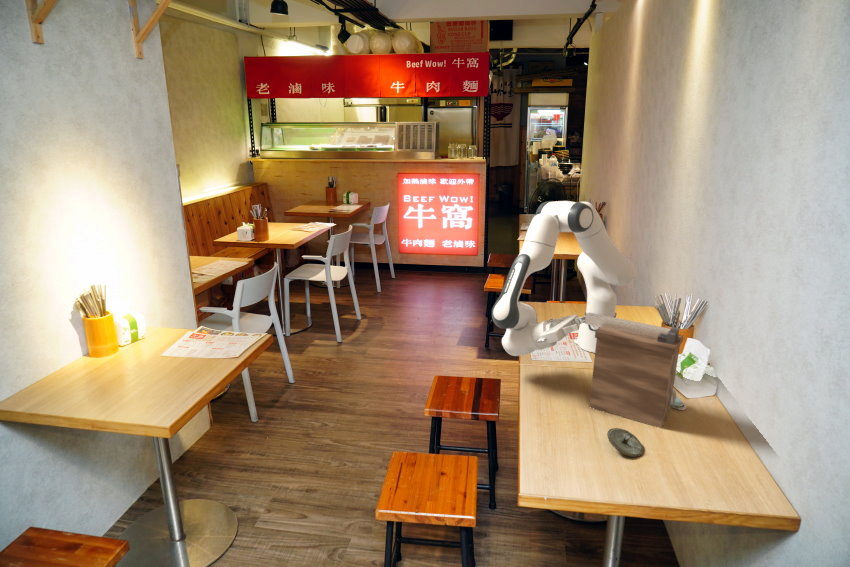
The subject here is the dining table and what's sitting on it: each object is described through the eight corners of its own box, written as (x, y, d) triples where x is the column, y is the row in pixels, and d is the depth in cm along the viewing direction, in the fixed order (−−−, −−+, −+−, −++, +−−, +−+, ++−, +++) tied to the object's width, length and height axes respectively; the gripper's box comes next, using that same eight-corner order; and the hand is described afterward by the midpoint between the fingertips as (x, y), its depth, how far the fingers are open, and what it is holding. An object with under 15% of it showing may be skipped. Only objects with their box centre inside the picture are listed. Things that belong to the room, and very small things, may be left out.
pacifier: (683, 402, 190) (664, 399, 191) (686, 385, 189) (667, 382, 190) (688, 413, 184) (668, 410, 185) (691, 395, 182) (671, 392, 183)
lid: (614, 434, 169) (615, 419, 168) (648, 446, 164) (650, 431, 162) (600, 450, 161) (602, 434, 160) (635, 463, 156) (637, 447, 154)
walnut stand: (599, 392, 195) (608, 311, 187) (671, 412, 183) (684, 326, 175) (587, 407, 185) (596, 322, 177) (662, 429, 173) (676, 339, 165)
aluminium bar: (587, 321, 187) (588, 312, 186) (669, 338, 174) (670, 328, 173) (584, 323, 184) (585, 314, 183) (667, 341, 171) (668, 331, 170)
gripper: (529, 334, 186) (567, 322, 178) (553, 317, 203) (588, 305, 194) (537, 352, 186) (575, 340, 178) (560, 334, 202) (596, 322, 194)
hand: (582, 322), depth 186 cm, fingers open, 8 cm apart
